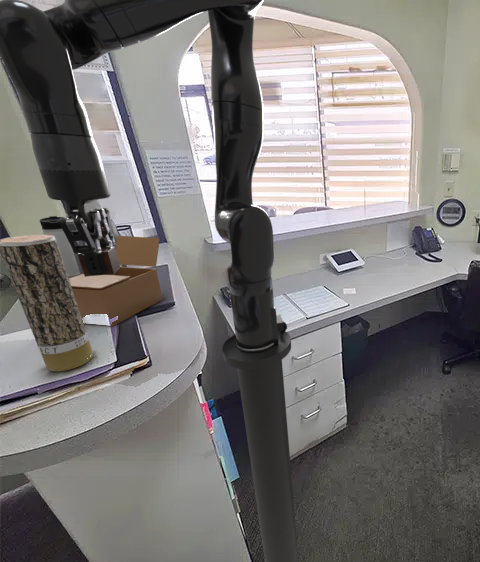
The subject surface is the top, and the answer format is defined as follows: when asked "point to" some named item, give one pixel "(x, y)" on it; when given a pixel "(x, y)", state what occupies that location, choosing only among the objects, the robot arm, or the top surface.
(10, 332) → the top surface
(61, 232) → the travel mug
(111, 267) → the block
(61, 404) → the top surface
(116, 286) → the carton
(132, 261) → the flap
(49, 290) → the paper tube
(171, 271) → the top surface
